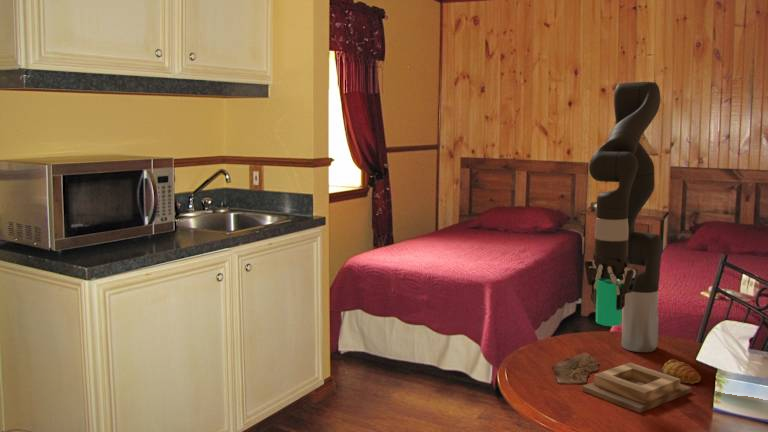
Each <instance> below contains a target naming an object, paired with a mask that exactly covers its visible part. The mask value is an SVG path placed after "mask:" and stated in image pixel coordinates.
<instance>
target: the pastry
mask: <svg viewBox="0 0 768 432" xmlns="http://www.w3.org/2000/svg"><path fill="white" fill-rule="evenodd" d="M662 373H663V374H666V375H669V376H673V377H676V378H679V379H680V383H683V384H690V385H693V384H694V385H695V384H696V383H700V381H701V380H702V377H701V375H700V374H699V372H698V371H697V370H696V369H695V368H694V367H692V366H691V365H690V364H687V363H686V362H684V361H679V360H677V359H668V361H667V362H665V363H664V365H663V367H662Z"/></svg>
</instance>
